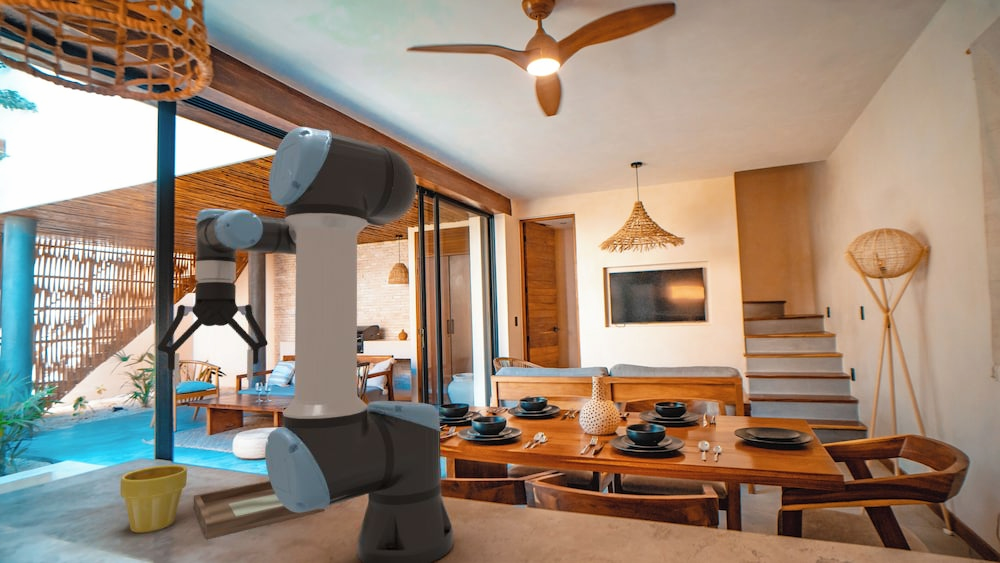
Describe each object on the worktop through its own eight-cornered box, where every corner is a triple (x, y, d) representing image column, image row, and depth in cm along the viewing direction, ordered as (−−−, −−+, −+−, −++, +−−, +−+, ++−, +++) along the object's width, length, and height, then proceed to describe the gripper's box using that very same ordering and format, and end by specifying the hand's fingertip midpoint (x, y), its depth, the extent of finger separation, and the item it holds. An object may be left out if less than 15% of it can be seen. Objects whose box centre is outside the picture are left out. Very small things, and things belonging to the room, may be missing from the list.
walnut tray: (323, 510, 100) (323, 498, 100) (206, 539, 88) (206, 524, 88) (295, 486, 116) (295, 475, 116) (193, 507, 104) (193, 495, 104)
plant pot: (198, 515, 100) (199, 464, 100) (158, 537, 89) (159, 480, 90) (149, 515, 101) (150, 464, 101) (103, 537, 90) (105, 480, 91)
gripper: (274, 284, 119) (274, 376, 117) (145, 282, 105) (142, 386, 103) (281, 282, 113) (281, 378, 111) (144, 279, 99) (141, 390, 97)
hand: (214, 382), depth 107 cm, fingers open, 13 cm apart
